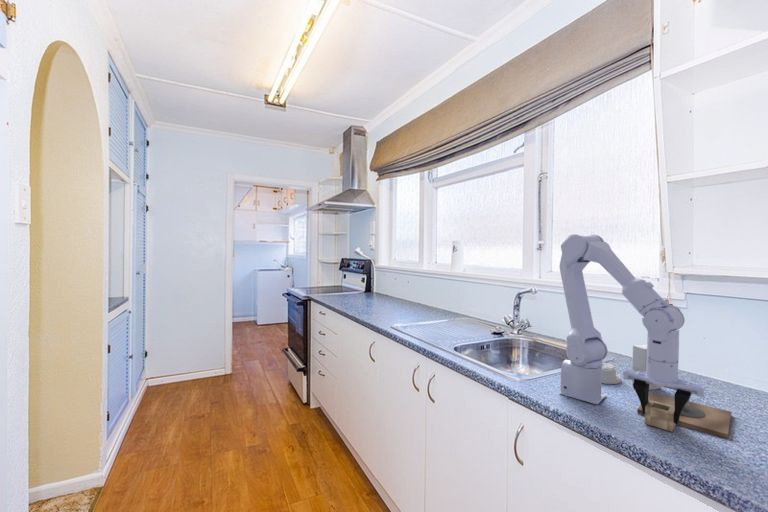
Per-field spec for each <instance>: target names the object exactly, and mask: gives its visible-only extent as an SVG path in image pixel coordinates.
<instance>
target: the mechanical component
mask: <svg viewBox="0 0 768 512" xmlns="http://www.w3.org/2000/svg"><path fill="white" fill-rule="evenodd" d="M621 381H622V377H621V375H620V374H617V366H614V364H611V363H608V362H607V363H606V362H603V361H602V380H601V384H604V385H605V384H606V385H615V384H616V385H617V384H620V383H621Z"/></svg>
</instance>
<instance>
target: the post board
mask: <svg viewBox="0 0 768 512" xmlns="http://www.w3.org/2000/svg"><path fill="white" fill-rule="evenodd" d="M649 400H652V401H656V402H660V403H664V404H667V405H671V406H675V398H674V397H673V396H668V395H665V394H660V393H655V392H652V391H649V394H648V402H649ZM637 414H639V415H642V416H645V415H644V414H643V411H642V406H641V404H640V405H639V406H638V408H637ZM731 420H732V411H729V410H725V409H721V408H718V407H714V406H710V405H704V404H702V403H697V402H693V401H690V399H689V400H688V401H687V403H686V404H685V406H684V407H683V409H682V411H681V414H680V417H679V422H678V424H676V425H678V426H681V427H685V428H687V429H688V428H689V429H692V430H695V431H698V432H702V433H705V434H706V433H707V434H709V435H712V436H716V437H720V438H724V439H726V440H727V439H728V438H729V431H730V426H731Z"/></svg>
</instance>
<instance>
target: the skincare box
mask: <svg viewBox="0 0 768 512" xmlns="http://www.w3.org/2000/svg"><path fill="white" fill-rule="evenodd" d="M646 367H647V343H646V344H637V345H632V370H633V371H640V372H646ZM631 381H632V386H633V383H634V380H631ZM660 389H662V387H661V386H656V385H652V384H649V391H652V390H660Z"/></svg>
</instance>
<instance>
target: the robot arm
mask: <svg viewBox="0 0 768 512" xmlns="http://www.w3.org/2000/svg"><path fill="white" fill-rule="evenodd" d="M560 249H561V257H560V261H559V273H560V277H561V278H560V279H561V283H562V287H563V292H564V298H565V303H566V307H567V313H568V317H569V322H570V328H571V329H570V331H568V332H569V333H567V336H566V347H565V353H566V356H567V359H565V360H563V361H562V363H561V368H560V391H559V394H560V395H562V396H566V397H570V398H571V399H572V398H573V399H576V400H579V401H583V402H587V403H591V404H593V405H599V404H600V403H601V402H602V401H603V400H604V399H606V397H607V394H606V393H602V383H601V380H602V362H603V360H605V358H607V356H608V347H607V345H606V343H605V341H604V340H603V338H602V334H601V332H599V331H598V329H596V327H595V326H594V321H593V316H592V312H591V307H590V303H589V297H588V292H587V287H586V283H585V282H586V281H585V277H584V273H583V270H584V269H585V268H586V266H588V264H589V263H591V262H593V263H598V264H599V265H600V266H601V267H602V268H603V269H604V270H605V271H606V272H607V273H608V274H609V275H610V276H611V277H612V278H613V279H614V280H615V281H617V283H618V284H620V285H621V287H622V288H621V293H622V294H621V295H623V296H624V298H626V300H627V301H628V302H629V303H630V304H631V305H632V307H634V309H635V310H636V311H637V312H638V313H639V314H640V315H641V316H642V318H641V321H642V325H643V326H644V328H645V329H646V331H647V340H646V344H647V367H646V372H640V371H633V369H627V368H625V369H624V370H623V376H622V379H623V380H627V381H628V380H629V381H630V380H631V381H633V380H634V383H633V385H632V387H633V390H634V391H635V393H636V396H637V397H638V400H639V402H640V405H641V406H642V411H643V414H644V415H643V416H645V406H646V405H647V403H648V394H649V393H650V390H649V384H652V385H656V386H661V388H665V389H670V390H673V391H675V392H674V395H673V396H674V397H673V398H675V412H674V423H675V424H676V425H677V424H678V422H679V417H680V414H681V411H682V409H683V407H684V406H685V404H686V403H687V401H688V400H689V401H690V398H691V395H695V396H697V397H701V398H704V397H705V387H706V386H705V385H701V384H696V383H694V382H690V381H686V380H683V379H680V378H679V359H680V357H679V355H680V329H681V328H683V326H684V324H685V316H684V314H683V313H682V311H681V309H680V308H679V307H677V306H676V305H675V306H674V305H671V304H670V302H669V301H668V300H667V299H664V298H663V297H662V296H661V295H660V294H658V292H657V291H656V290H655V289H654V285H653V283H652V282H651V281H649V282H647V281H646V280H645V279H641V278H636V277H635V276H634V275H633V273H631V271H630V270H629V269H628V267H627V266H626V265H625V264H624V263H623V262H622V260H621V258H619V257H618V256H617V255H616V253H615V252H614V251H613V250H612V248H611V246H610V244H609V243H608V242H606V241H605V240H604V238H603V237H601V236H600V235H598V234H577V233H576V234H574V233H573V234H571V235H568V236H567V237H566V238H565V239H564V241H563V242H562V244H561V245H560Z"/></svg>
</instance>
